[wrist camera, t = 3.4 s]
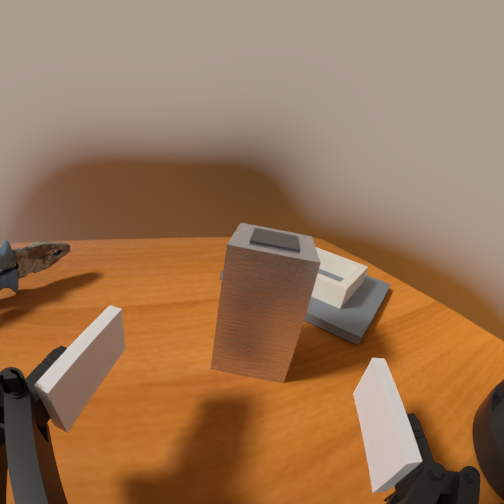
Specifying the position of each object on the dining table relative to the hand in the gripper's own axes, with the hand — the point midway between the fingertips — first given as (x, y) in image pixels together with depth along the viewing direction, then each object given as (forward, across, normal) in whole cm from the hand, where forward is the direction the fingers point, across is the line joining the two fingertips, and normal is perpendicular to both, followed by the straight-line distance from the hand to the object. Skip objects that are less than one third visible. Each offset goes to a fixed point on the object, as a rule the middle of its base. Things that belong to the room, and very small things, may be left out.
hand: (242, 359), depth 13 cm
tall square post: (+8, +1, -6) cm, 10 cm away
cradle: (+24, +8, -6) cm, 26 cm away
